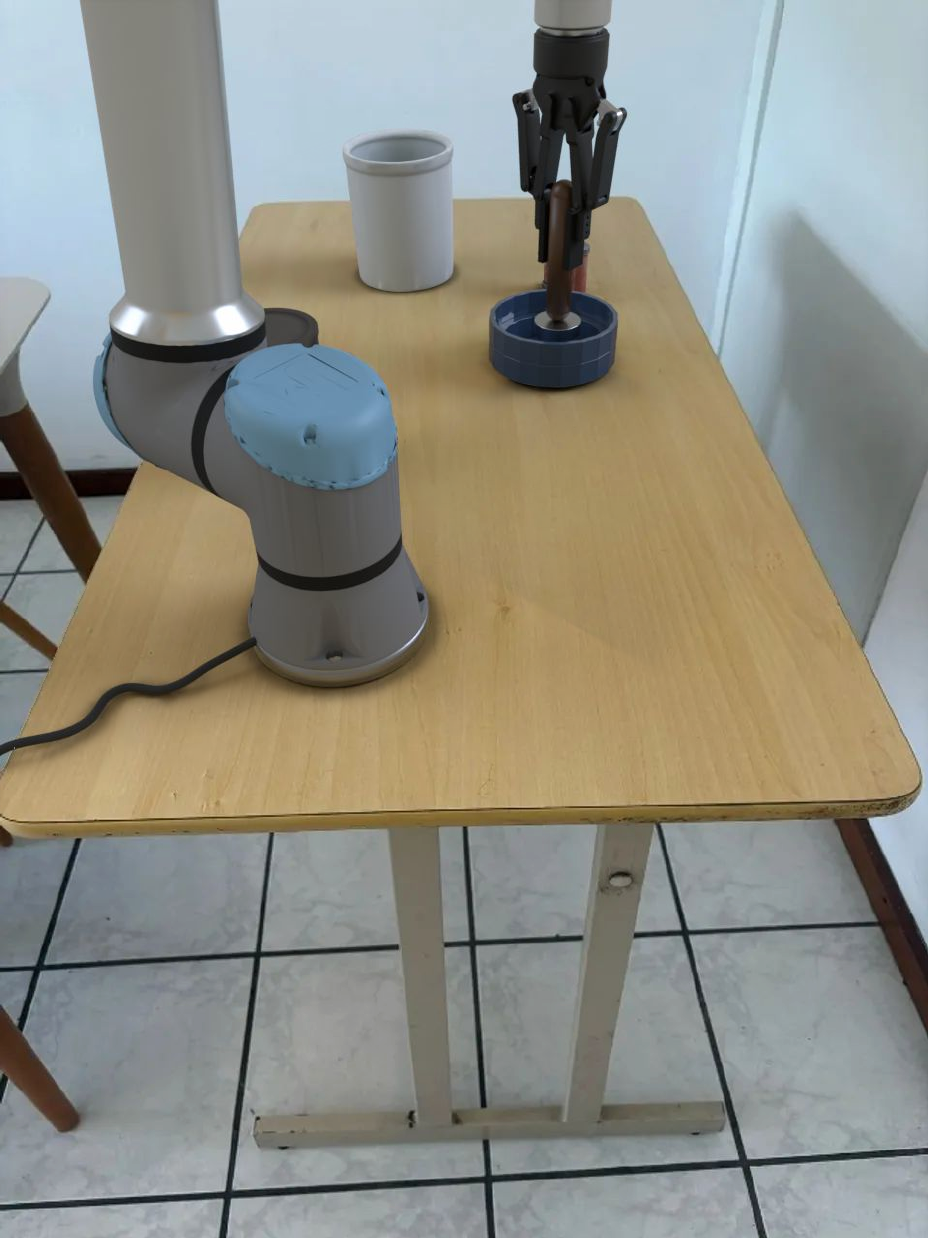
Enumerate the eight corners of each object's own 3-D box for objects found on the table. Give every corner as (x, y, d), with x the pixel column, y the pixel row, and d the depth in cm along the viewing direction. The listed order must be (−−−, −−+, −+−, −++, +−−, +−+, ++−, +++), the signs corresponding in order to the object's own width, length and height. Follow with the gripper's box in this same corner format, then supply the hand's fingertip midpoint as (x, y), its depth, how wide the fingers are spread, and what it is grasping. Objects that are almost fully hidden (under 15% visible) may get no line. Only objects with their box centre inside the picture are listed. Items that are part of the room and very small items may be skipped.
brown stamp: (561, 347, 113) (569, 191, 101) (524, 333, 116) (528, 180, 104) (589, 330, 116) (600, 178, 104) (552, 318, 119) (559, 168, 107)
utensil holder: (382, 303, 131) (372, 168, 120) (337, 267, 141) (324, 138, 129) (474, 280, 137) (474, 148, 125) (425, 246, 146) (420, 121, 135)
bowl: (562, 405, 110) (565, 356, 106) (464, 365, 118) (463, 318, 114) (637, 358, 118) (643, 311, 114) (541, 323, 126) (542, 278, 122)
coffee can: (263, 422, 108) (242, 301, 99) (348, 435, 106) (334, 312, 96) (219, 470, 101) (192, 345, 91) (309, 485, 98) (290, 358, 89)
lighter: (592, 300, 131) (597, 226, 124) (572, 307, 130) (577, 232, 123) (555, 281, 136) (558, 209, 129) (536, 287, 135) (539, 214, 128)
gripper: (662, 30, 93) (636, 270, 108) (532, 11, 101) (526, 237, 116) (617, 44, 89) (597, 291, 104) (485, 23, 97) (486, 255, 112)
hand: (560, 262), depth 110 cm, fingers closed on brown stamp, 3 cm apart
